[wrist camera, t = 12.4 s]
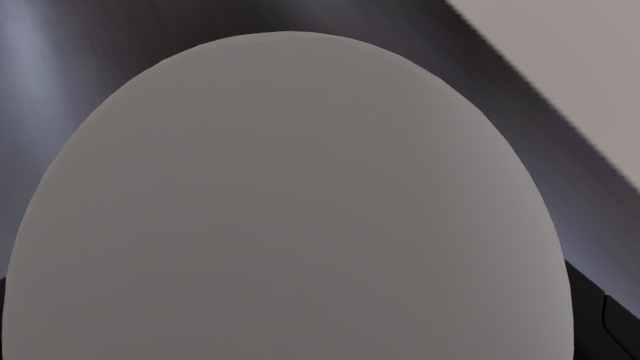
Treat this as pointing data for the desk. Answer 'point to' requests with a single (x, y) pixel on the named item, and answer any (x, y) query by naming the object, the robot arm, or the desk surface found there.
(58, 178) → the supplement bottle
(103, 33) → the desk surface
